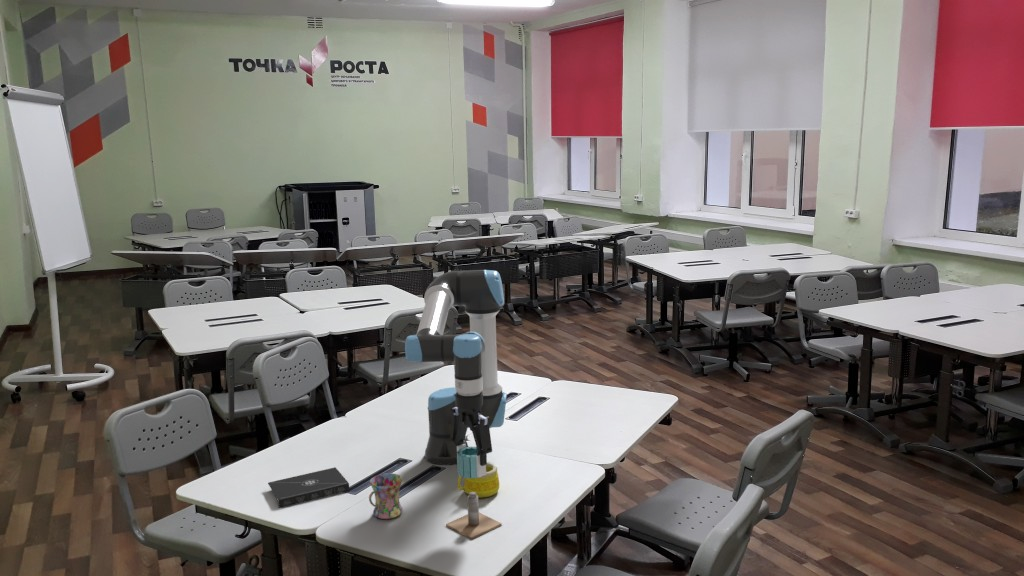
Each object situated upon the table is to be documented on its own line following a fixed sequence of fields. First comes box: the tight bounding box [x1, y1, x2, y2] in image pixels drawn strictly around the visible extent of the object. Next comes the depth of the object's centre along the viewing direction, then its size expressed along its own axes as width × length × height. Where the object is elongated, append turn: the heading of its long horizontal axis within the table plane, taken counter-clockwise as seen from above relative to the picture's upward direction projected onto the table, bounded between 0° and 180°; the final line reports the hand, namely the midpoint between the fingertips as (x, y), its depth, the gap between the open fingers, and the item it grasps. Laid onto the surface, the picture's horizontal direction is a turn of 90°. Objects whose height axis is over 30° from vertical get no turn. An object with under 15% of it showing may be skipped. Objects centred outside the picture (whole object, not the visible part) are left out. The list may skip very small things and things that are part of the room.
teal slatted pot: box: [456, 446, 478, 479], centre depth 210 cm, size 8×8×6 cm
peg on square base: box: [445, 492, 503, 541], centre depth 213 cm, size 11×11×10 cm
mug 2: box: [457, 462, 500, 499], centre depth 234 cm, size 13×11×12 cm
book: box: [267, 466, 350, 509], centre depth 239 cm, size 22×15×3 cm
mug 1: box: [368, 472, 404, 520], centre depth 220 cm, size 12×9×11 cm
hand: (471, 471), depth 211 cm, fingers closed on teal slatted pot, 7 cm apart
